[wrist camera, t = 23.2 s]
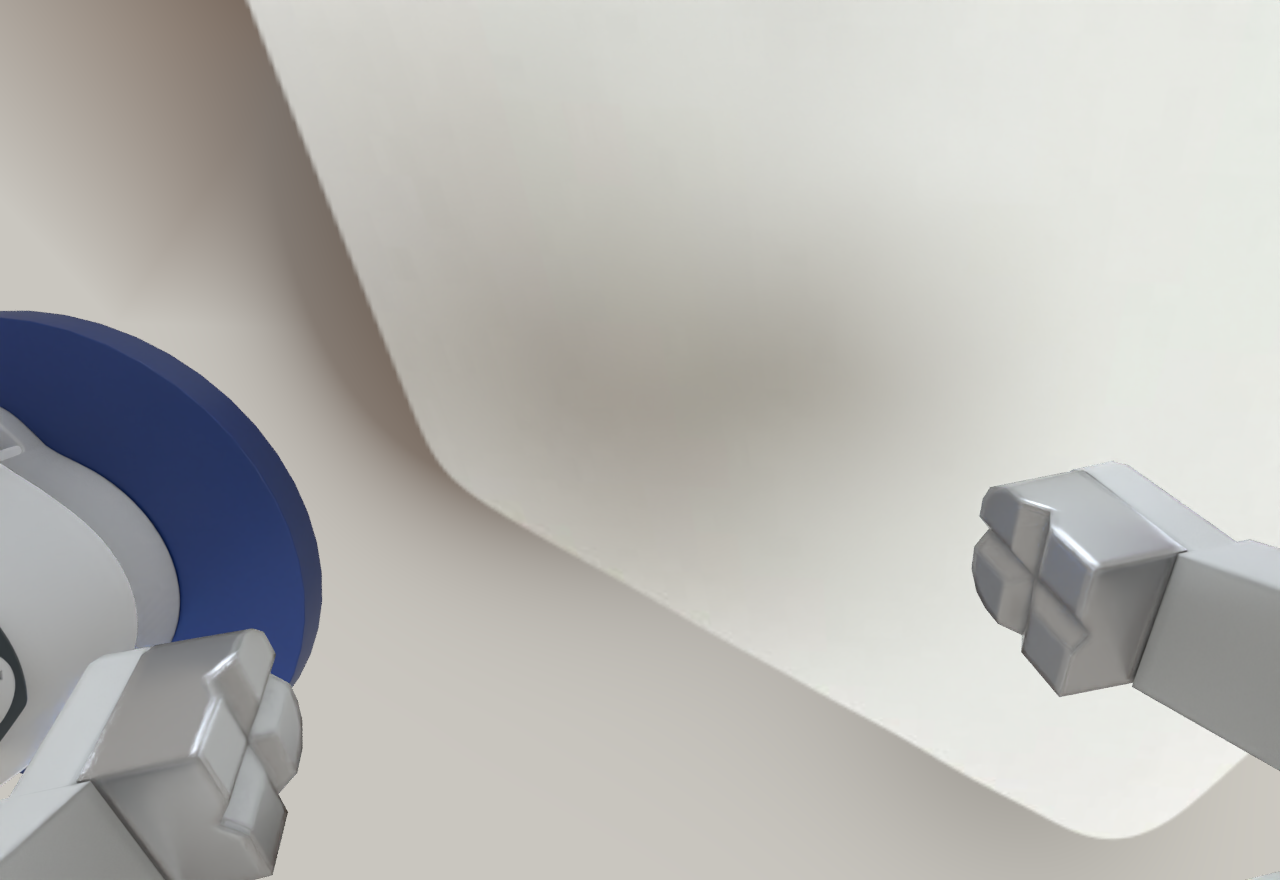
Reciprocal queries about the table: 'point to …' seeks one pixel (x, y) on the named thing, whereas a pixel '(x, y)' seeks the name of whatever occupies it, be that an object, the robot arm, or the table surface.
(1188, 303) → the table surface
